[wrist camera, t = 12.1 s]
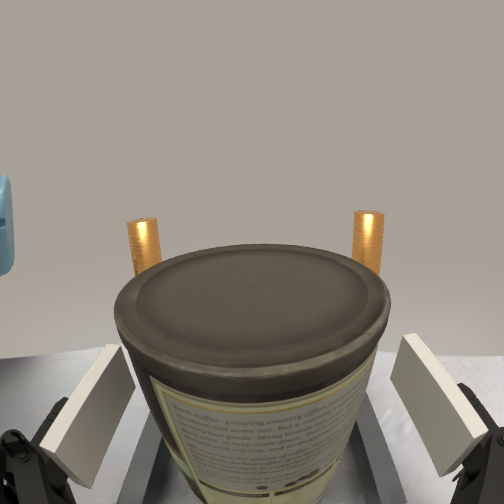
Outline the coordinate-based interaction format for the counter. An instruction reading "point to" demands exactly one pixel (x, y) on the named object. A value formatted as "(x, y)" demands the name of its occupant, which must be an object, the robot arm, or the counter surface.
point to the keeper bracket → (359, 443)
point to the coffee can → (254, 364)
